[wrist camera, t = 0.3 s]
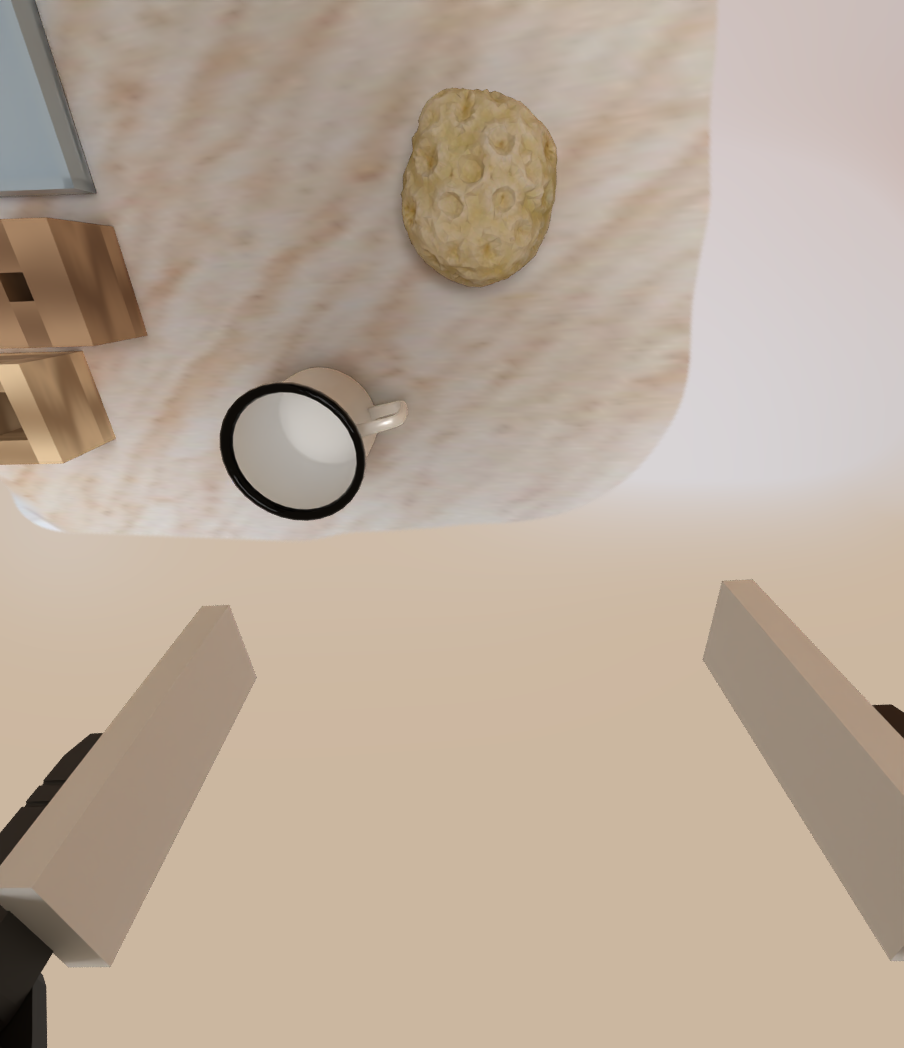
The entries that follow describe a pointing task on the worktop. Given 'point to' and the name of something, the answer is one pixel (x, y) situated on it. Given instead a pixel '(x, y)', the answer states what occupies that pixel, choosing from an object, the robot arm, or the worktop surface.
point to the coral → (478, 185)
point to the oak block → (49, 408)
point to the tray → (35, 113)
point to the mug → (303, 442)
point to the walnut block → (64, 285)
